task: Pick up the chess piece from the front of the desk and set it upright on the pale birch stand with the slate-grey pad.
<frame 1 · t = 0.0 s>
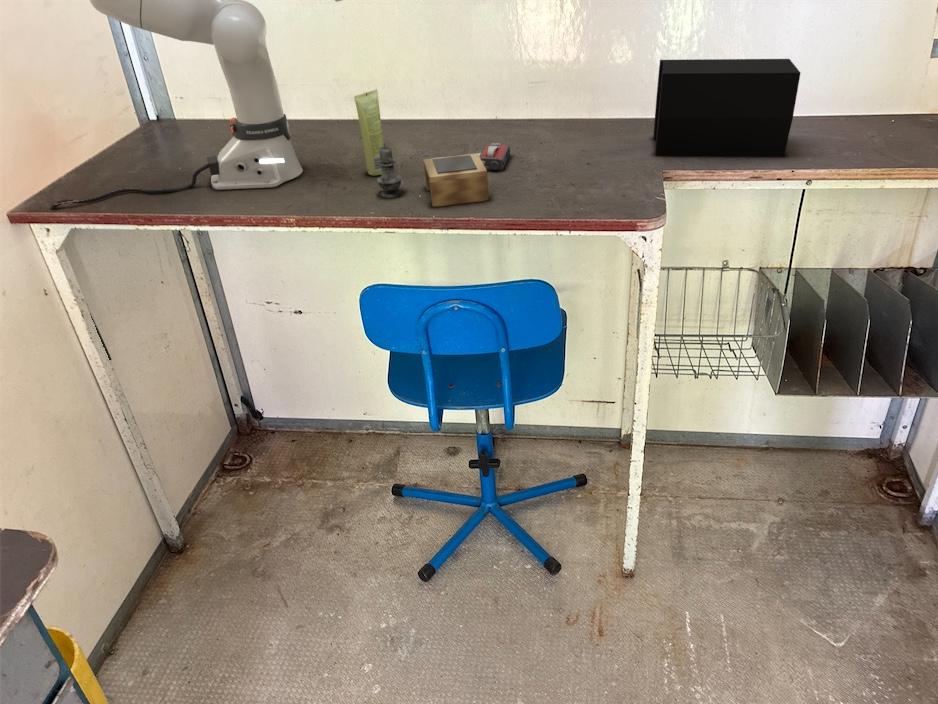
chess piece: (391, 194, 169), on the table
tube: (378, 173, 180), on the table
walkie-talkie: (488, 167, 181), on the table
stand: (456, 193, 167), on the table
uninterruptible power supply: (719, 147, 187), on the table
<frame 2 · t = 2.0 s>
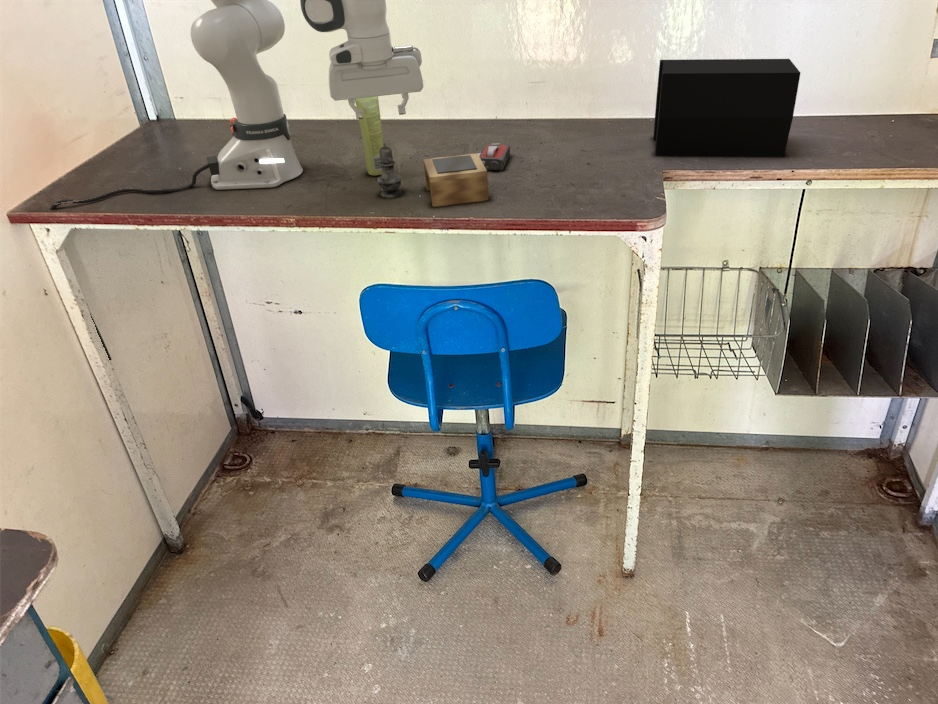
hand: (381, 116, 158), 18 cm above the table, tool pointing down, fingers open, 8 cm apart
nothing on the table moved.
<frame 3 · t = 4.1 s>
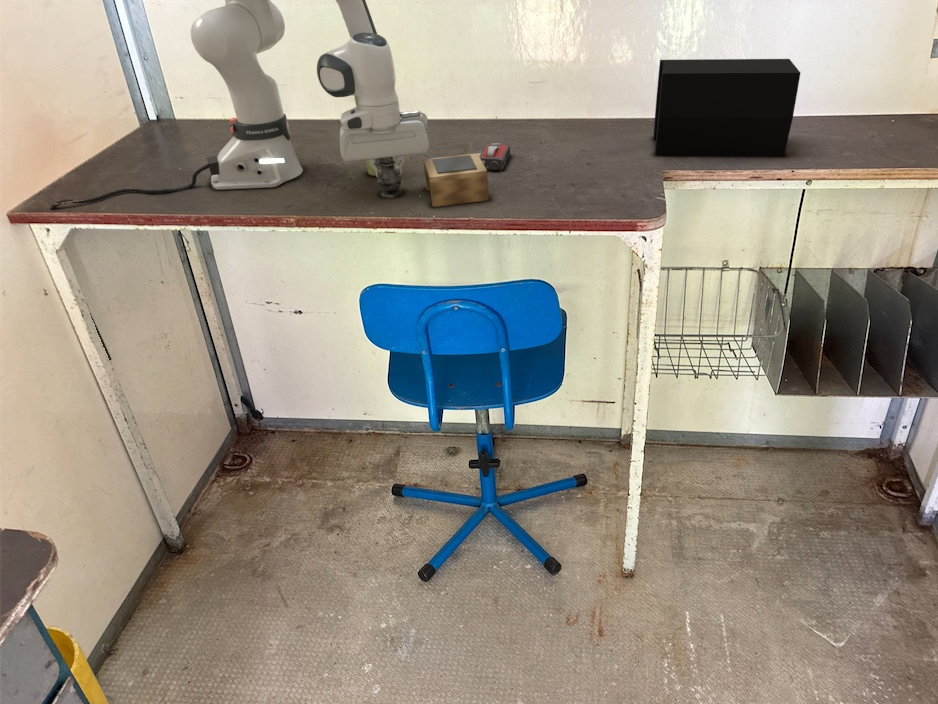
hand: (388, 175, 166), 5 cm above the table, tool pointing down, fingers closed on chess piece, 3 cm apart
chess piece: (391, 194, 169), on the table, touching gripper
everything else where it was.
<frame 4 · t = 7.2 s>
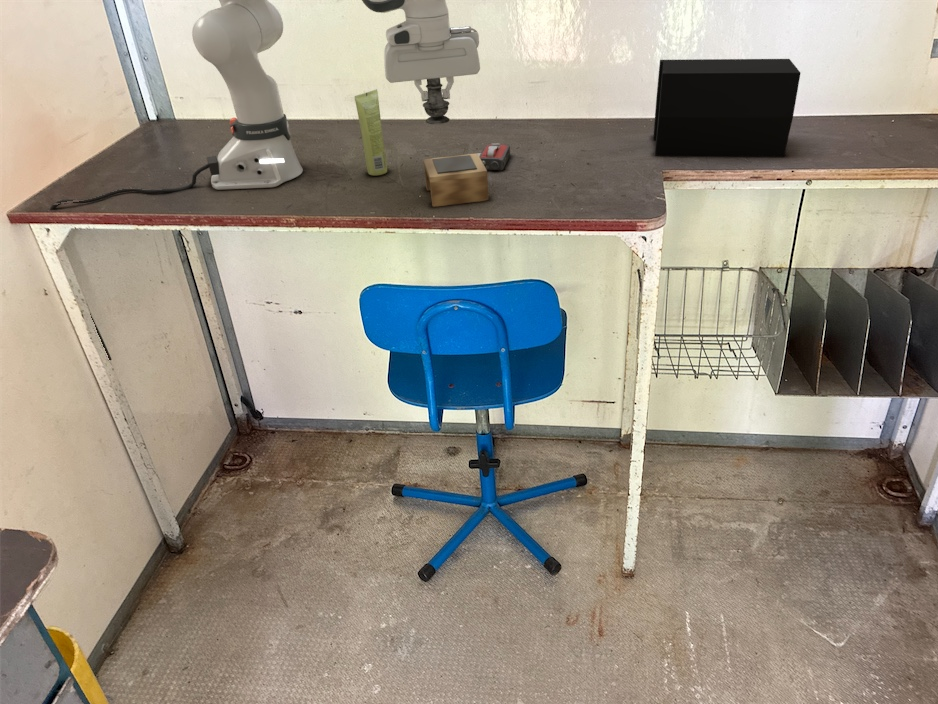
hand: (435, 99, 154), 21 cm above the table, tool pointing down, fingers closed on chess piece, 3 cm apart
chess piece: (437, 121, 157), point 17 cm above the table, touching gripper
everything else where it was.
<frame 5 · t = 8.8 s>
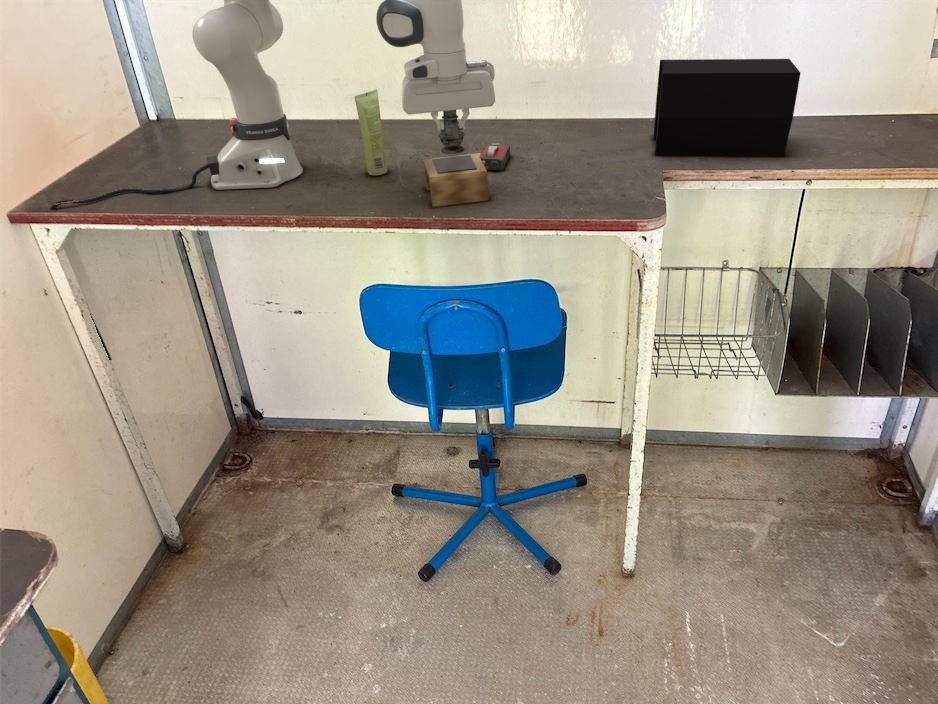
hand: (451, 130, 158), 15 cm above the table, tool pointing down, fingers closed on chess piece, 3 cm apart
chess piece: (452, 151, 161), point 10 cm above the table, touching gripper
everything else where it was.
when the fingers open (12 cm above the table, at t = 10.1 s): chess piece stays where it is, resting on stand.
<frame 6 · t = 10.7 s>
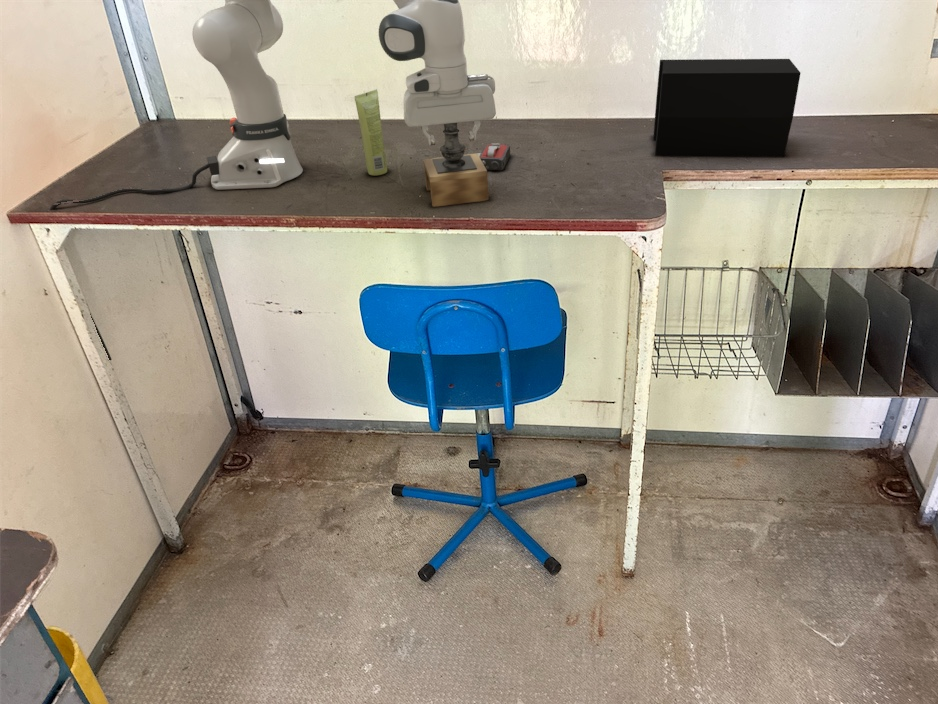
hand: (452, 142, 160), 12 cm above the table, tool pointing down, fingers open, 8 cm apart
chess piece: (453, 164, 163), point 7 cm above the table, touching stand
everything else where it was.
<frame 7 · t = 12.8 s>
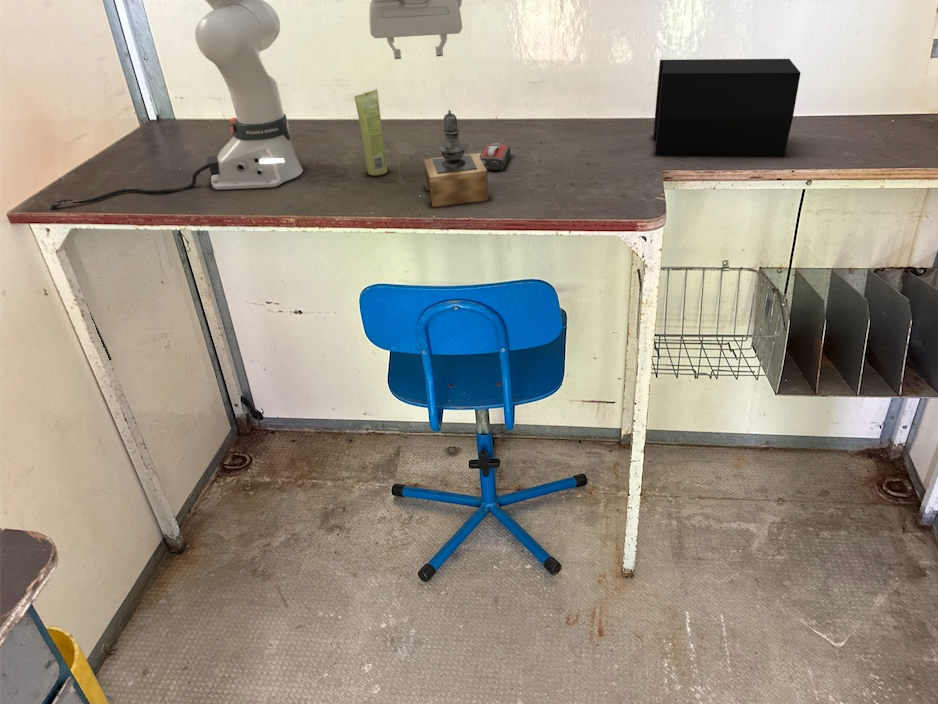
hand: (418, 57, 160), 28 cm above the table, tool pointing down, fingers open, 8 cm apart
nothing on the table moved.
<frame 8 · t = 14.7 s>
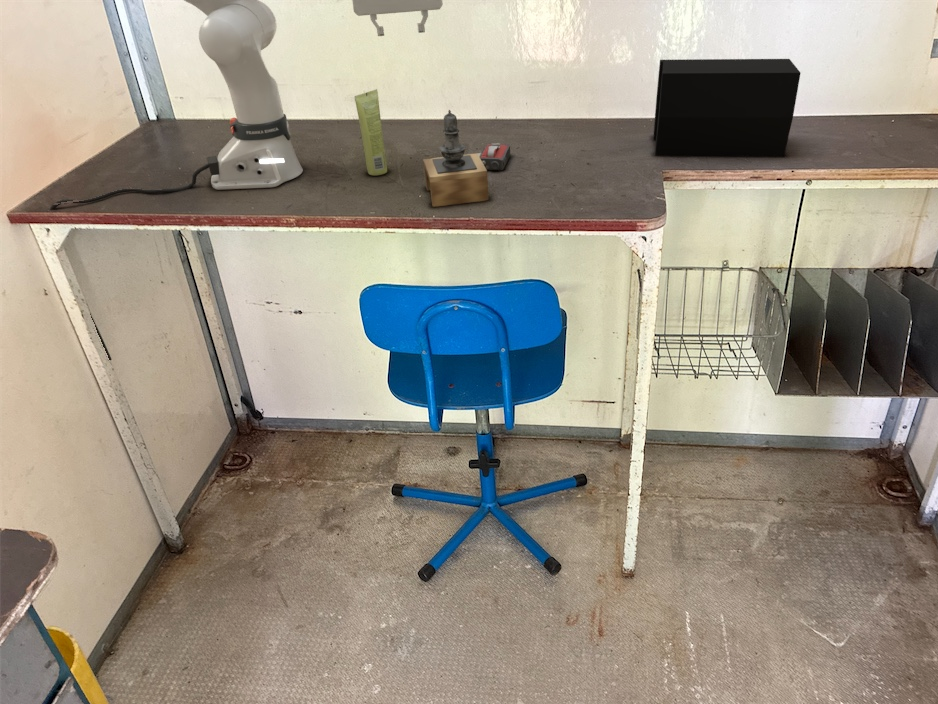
hand: (401, 33, 165), 31 cm above the table, tool pointing down, fingers open, 8 cm apart
nothing on the table moved.
at the end: chess piece inside the target area on the stand (0.1 cm from its centre), point 7.1 cm above the stand's base; chess piece tilted 0°; the gripper is holding nothing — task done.
